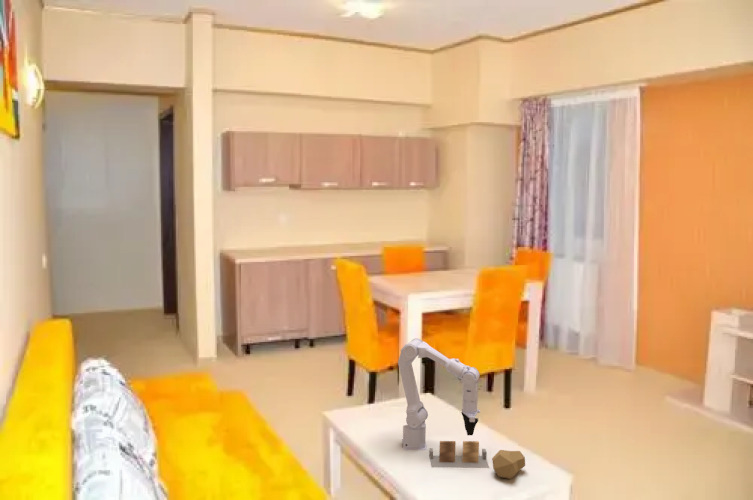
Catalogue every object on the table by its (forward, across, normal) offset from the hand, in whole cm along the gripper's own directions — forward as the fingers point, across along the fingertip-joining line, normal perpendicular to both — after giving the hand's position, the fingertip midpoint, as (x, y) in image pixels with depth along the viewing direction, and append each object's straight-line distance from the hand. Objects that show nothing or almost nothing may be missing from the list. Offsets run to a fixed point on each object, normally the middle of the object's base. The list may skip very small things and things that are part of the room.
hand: (469, 432), depth 255 cm
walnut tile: (+9, -6, +9) cm, 14 cm away
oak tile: (+9, -6, 0) cm, 11 cm away
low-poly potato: (+10, -16, -13) cm, 23 cm away
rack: (+10, -6, +4) cm, 12 cm away
